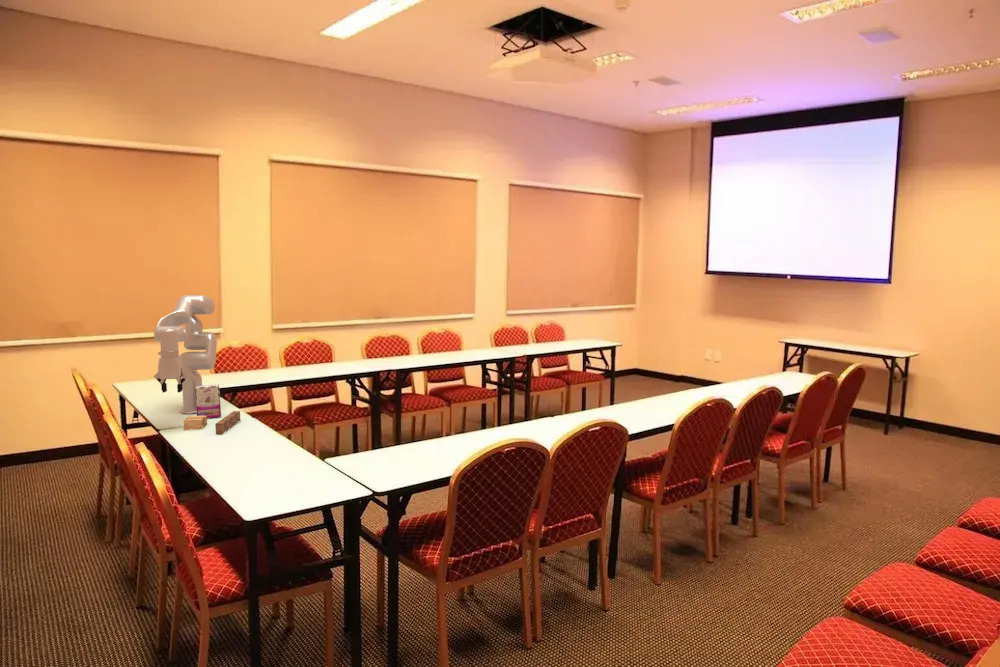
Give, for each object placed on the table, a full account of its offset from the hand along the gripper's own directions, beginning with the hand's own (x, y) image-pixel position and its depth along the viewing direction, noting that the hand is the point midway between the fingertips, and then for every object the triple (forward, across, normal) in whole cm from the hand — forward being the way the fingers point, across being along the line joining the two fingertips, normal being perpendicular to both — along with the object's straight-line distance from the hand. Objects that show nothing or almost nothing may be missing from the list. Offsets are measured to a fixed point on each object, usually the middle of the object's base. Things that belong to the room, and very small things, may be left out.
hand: (172, 391), depth 314 cm
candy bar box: (+18, +9, +19) cm, 28 cm away
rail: (+18, +26, 0) cm, 31 cm away
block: (+18, +10, 0) cm, 20 cm away
